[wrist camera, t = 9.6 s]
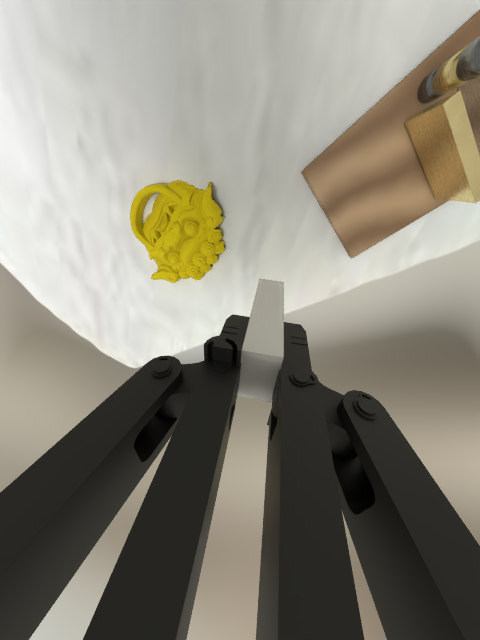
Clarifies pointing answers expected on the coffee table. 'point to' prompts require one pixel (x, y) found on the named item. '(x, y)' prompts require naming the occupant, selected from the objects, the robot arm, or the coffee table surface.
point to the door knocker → (179, 229)
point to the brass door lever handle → (447, 140)
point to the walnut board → (381, 161)
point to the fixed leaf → (472, 65)
